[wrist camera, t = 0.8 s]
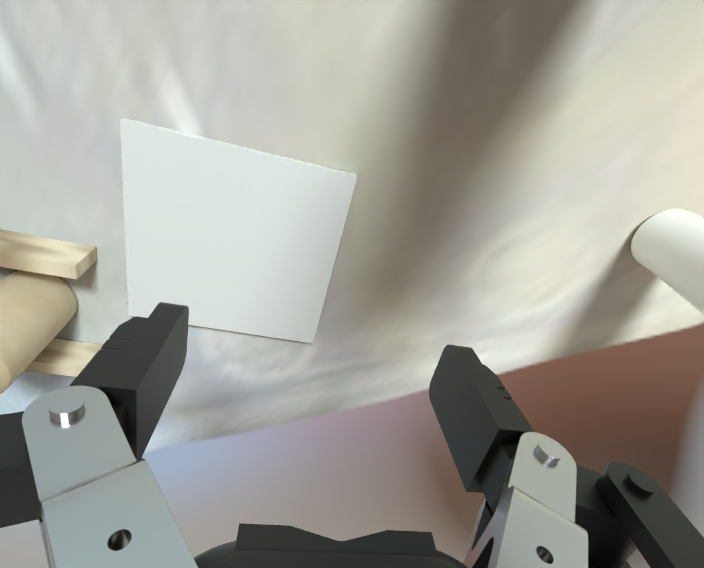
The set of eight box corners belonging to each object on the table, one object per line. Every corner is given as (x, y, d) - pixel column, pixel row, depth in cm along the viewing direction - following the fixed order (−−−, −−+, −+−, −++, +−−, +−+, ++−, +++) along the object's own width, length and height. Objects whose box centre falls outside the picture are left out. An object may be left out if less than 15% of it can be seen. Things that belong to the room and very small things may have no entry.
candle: (48, 259, 30) (-57, 341, 22) (92, 312, 33) (15, 403, 25) (-12, 278, 31) (-138, 366, 22) (37, 329, 34) (-59, 424, 25)
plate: (125, 118, 26) (119, 119, 25) (356, 174, 29) (357, 177, 28) (132, 310, 33) (128, 315, 33) (313, 337, 36) (313, 343, 36)
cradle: (-21, 338, 34) (-49, 361, 31) (-56, 219, 28) (-94, 236, 26) (105, 354, 36) (88, 378, 33) (95, 247, 30) (75, 265, 28)
